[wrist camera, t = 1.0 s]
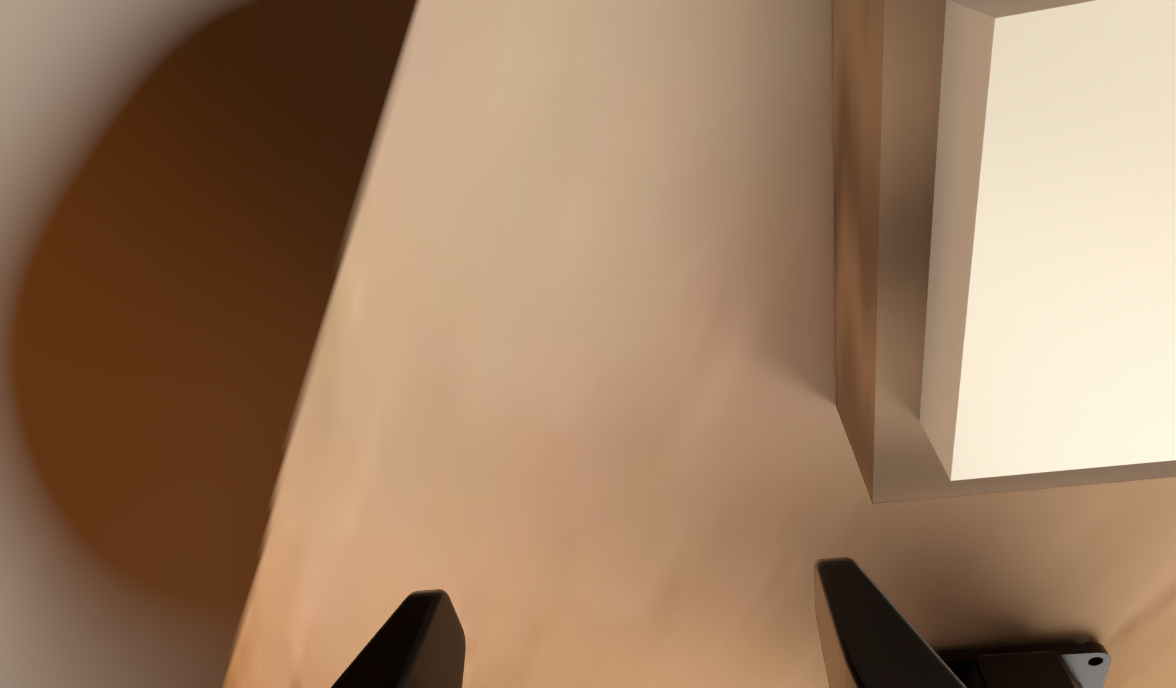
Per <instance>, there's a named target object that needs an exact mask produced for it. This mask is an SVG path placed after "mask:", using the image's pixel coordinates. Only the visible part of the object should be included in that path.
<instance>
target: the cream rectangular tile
mask: <svg viewBox="0 0 1176 688" xmlns="http://www.w3.org/2000/svg"><path fill="white" fill-rule="evenodd" d="M920 423H921V425H922V427H923V428H924V430H925V432H926V434H927V436H928V438H929V440H930V442H931V444H932V446H933V448H934V450H935V452H936V454H937V455H938V457H939V459H940V461H941V463H942V465H943V467H944V469H945V471H946V473H947V475H948V477H949V479H950V481H954V480H965V479H976V478H987V477H998V476H1009V475H1020V474H1031V473H1041V472H1052V471H1063V470H1074V469H1085V468H1096V467H1107V466H1118V465H1129V464H1139V463H1150V462H1161V461H1172V460H1176V0H946V12H945V28H944V43H943V59H942V75H941V91H940V107H939V122H938V138H937V154H936V170H935V185H934V201H933V217H932V233H931V249H930V264H929V280H928V296H927V312H926V328H925V343H924V359H923V375H922V391H921V407H920Z"/></svg>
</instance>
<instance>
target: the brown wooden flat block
mask: <svg viewBox="0 0 1176 688" xmlns="http://www.w3.org/2000/svg"><path fill="white" fill-rule="evenodd" d="M945 12H946V0H832V50H833V140H834V231H835V321H836V407H837V410H838V412H839V415H840V418H841V420H842V423H843V426H844V428H845V431H846V434H847V436H848V439H849V442H850V444H851V447H852V450H853V452H854V455H855V458H856V460H857V463H858V466H859V468H860V471H861V474H862V476H863V479H864V482H865V484H866V487H867V490H868V492H869V495H870V498H871V500H872V503H873V504H874V503H885V502H897V501H908V500H919V499H931V498H942V497H953V496H964V495H976V494H987V493H998V492H1009V491H1021V490H1032V489H1043V488H1054V487H1066V486H1077V485H1088V484H1099V483H1111V482H1122V481H1133V480H1144V479H1156V478H1167V477H1176V460H1172V461H1161V462H1150V463H1139V464H1129V465H1118V466H1107V467H1096V468H1085V469H1074V470H1063V471H1052V472H1041V473H1031V474H1020V475H1009V476H998V477H987V478H976V479H965V480H954V481H950V479H949V477H948V475H947V473H946V471H945V469H944V467H943V465H942V463H941V461H940V459H939V457H938V455H937V454H936V452H935V450H934V448H933V446H932V444H931V442H930V440H929V438H928V436H927V434H926V432H925V430H924V428H923V427H922V425H921V423H920V407H921V391H922V375H923V359H924V343H925V328H926V312H927V296H928V280H929V264H930V249H931V233H932V217H933V201H934V185H935V170H936V154H937V138H938V122H939V107H940V91H941V75H942V59H943V43H944V28H945Z"/></svg>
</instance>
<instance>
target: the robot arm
mask: <svg viewBox="0 0 1176 688" xmlns="http://www.w3.org/2000/svg"><path fill="white" fill-rule="evenodd" d="M814 583H815V609H816V618H817V624H818V630H819V635H820V640H821V645H822V650H823V655H824V660H825V666H826V671H827V676H828V681H829V686H830V688H1103V685H1104V682H1105V678H1106V675H1107V672H1108V668H1109V665H1110V662H1111V657H1110V655H1109V654H1108V652H1107V651H1106V649H1105V647H1104V646H1103V645H1101V644H1099V643H1081V644H1064V645H1048V646H1031V647H1014V648H997V649H980V650H964V651H947V652H935V651H934V650H933V649H932V648H931V647H930V646H929V644H928V643H927V642H926V641H925V640H924V639H923V638H922V636H921V635H920V634H919V633H918V632H917V631H916V630H915V629H914V627H913V626H912V625H911V624H910V623H909V622H908V621H907V619H906V618H905V617H904V616H903V615H902V614H901V613H900V611H899V610H898V609H897V608H896V607H895V606H894V605H893V604H892V602H891V601H890V600H889V599H888V598H887V597H886V596H885V594H884V593H883V592H882V591H881V590H880V589H879V588H878V587H877V585H876V584H875V583H874V582H873V581H872V580H871V579H870V577H869V576H868V575H867V574H866V573H865V572H864V571H863V569H862V568H861V567H860V566H859V565H858V564H857V563H856V562H855V561H854V560H853V559H850V558H846V557H843V558H830V559H820V560H818V561H816V562H815V565H814ZM465 649H466V645H465V635H464V631H463V628H462V626H461V623H460V621H459V619H458V616H457V614H456V612H455V609H454V607H453V605H452V602H451V600H450V597H449V596H448V594H447V593H446V592H445V591H444V590H441V589H435V590H423V591H415V592H413V593H411V594H410V595H409V596H407V598H406V599H405V600H404V601H403V602H402V603H401V605H400V606H399V607H398V608H397V609H396V611H395V612H394V613H393V614H392V615H391V616H390V618H389V619H388V620H387V621H386V622H385V624H384V625H383V626H382V627H381V628H380V630H379V631H378V632H377V633H376V634H375V636H374V637H373V638H372V639H371V640H370V642H369V643H368V644H367V645H366V646H365V648H364V649H363V650H362V651H361V652H360V653H359V655H358V656H357V657H356V658H355V659H354V661H353V662H352V663H351V664H350V665H349V667H348V668H347V669H346V670H345V671H344V673H343V674H342V675H341V676H340V677H339V679H338V680H337V681H336V682H335V683H334V684H333V686H332V687H331V688H462V682H463V672H464V661H465Z"/></svg>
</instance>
